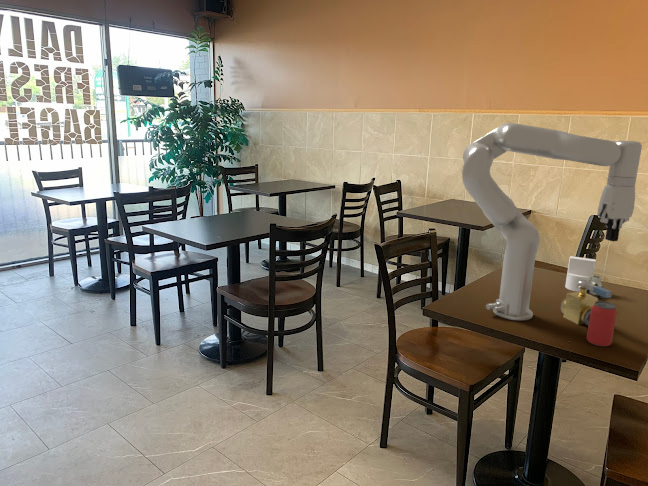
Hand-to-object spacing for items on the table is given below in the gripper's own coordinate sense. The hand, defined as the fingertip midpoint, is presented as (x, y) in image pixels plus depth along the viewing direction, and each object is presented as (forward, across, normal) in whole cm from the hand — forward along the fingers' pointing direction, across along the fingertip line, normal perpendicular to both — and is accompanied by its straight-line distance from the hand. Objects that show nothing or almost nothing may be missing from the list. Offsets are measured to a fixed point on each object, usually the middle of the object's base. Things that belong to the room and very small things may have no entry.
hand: (611, 240), depth 160 cm
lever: (+16, +6, +2) cm, 17 cm away
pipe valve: (+27, +6, -2) cm, 28 cm away
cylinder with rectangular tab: (+27, -19, -27) cm, 43 cm away
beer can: (+27, +14, +13) cm, 33 cm away
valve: (+27, -18, -18) cm, 37 cm away
